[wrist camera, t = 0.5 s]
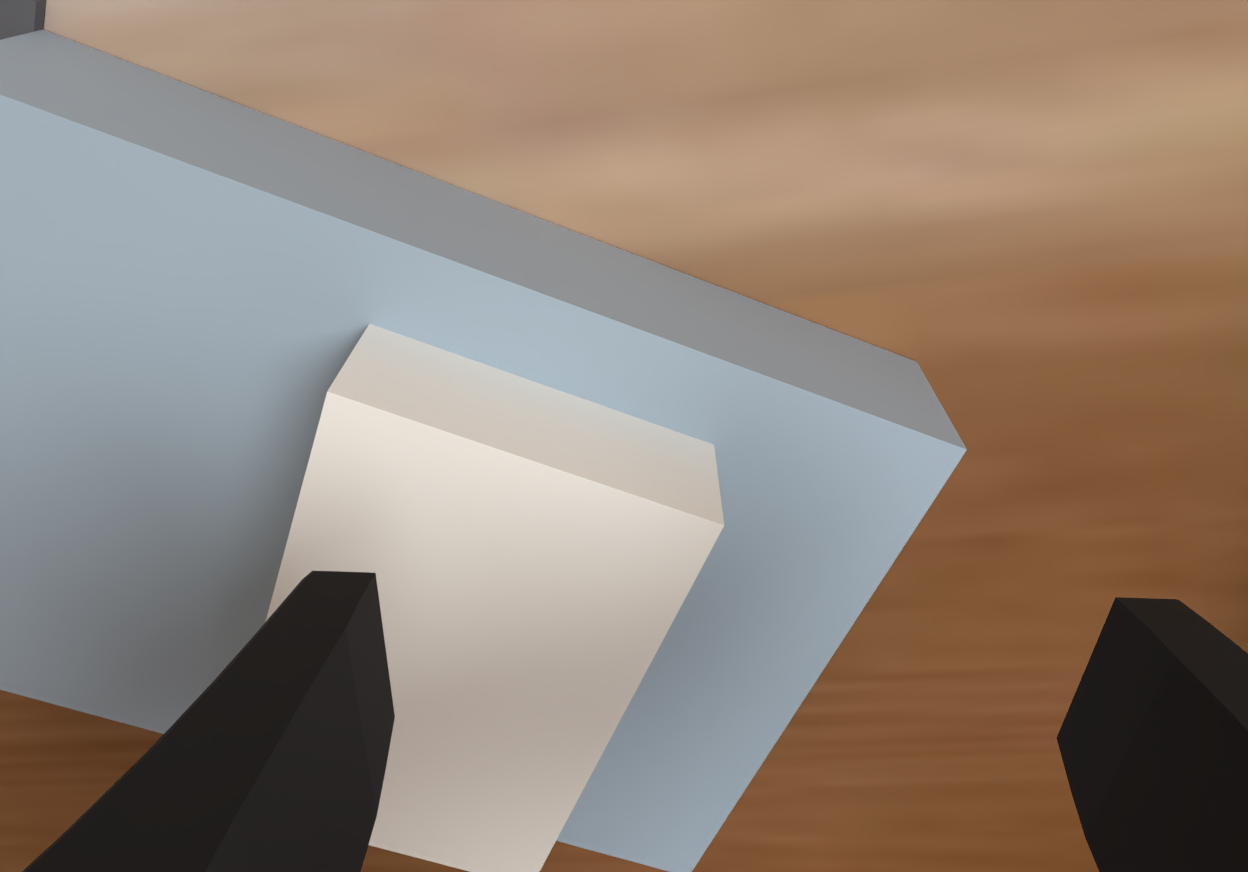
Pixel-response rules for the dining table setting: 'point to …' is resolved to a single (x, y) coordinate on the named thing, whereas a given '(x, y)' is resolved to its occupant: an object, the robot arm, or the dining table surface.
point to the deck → (309, 363)
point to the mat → (21, 17)
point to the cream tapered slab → (498, 582)
